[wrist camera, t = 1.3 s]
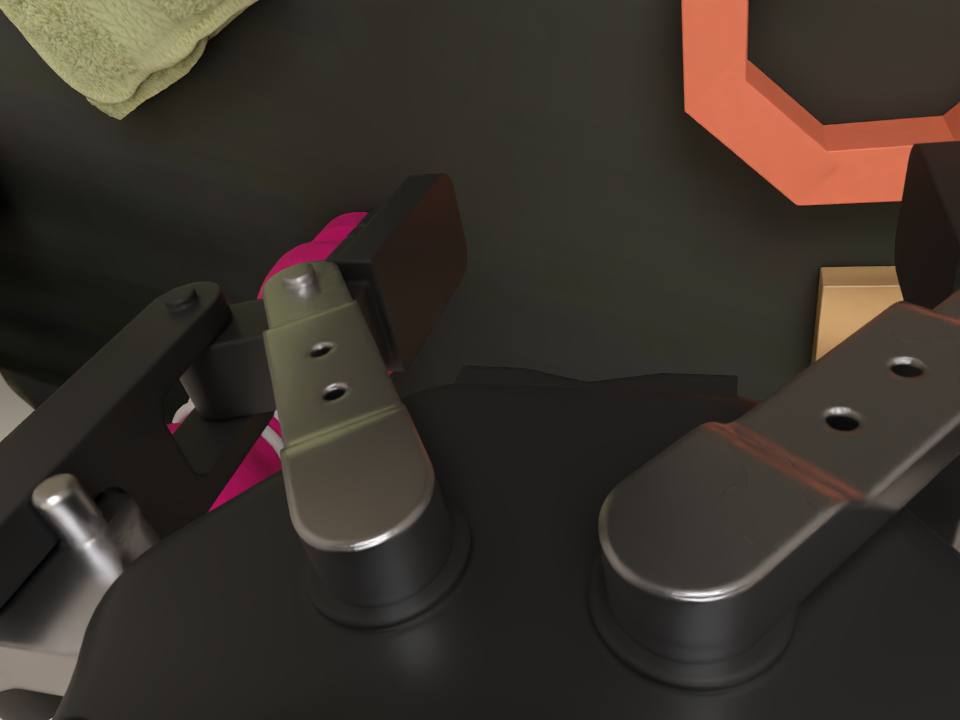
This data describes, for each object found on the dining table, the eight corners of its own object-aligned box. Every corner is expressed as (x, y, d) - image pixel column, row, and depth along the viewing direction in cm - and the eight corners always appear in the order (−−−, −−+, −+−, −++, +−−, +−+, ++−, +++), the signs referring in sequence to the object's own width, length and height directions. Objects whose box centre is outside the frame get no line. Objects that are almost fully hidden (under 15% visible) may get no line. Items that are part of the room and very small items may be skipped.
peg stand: (820, 266, 29) (846, 496, 20) (1090, 261, 26) (1264, 531, 17) (805, 426, 35) (819, 666, 26) (1028, 438, 32) (1136, 716, 22)
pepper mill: (457, 235, 34) (222, 601, 19) (427, 343, 39) (221, 701, 24) (317, 178, 34) (-20, 496, 19) (305, 293, 39) (29, 615, 24)
